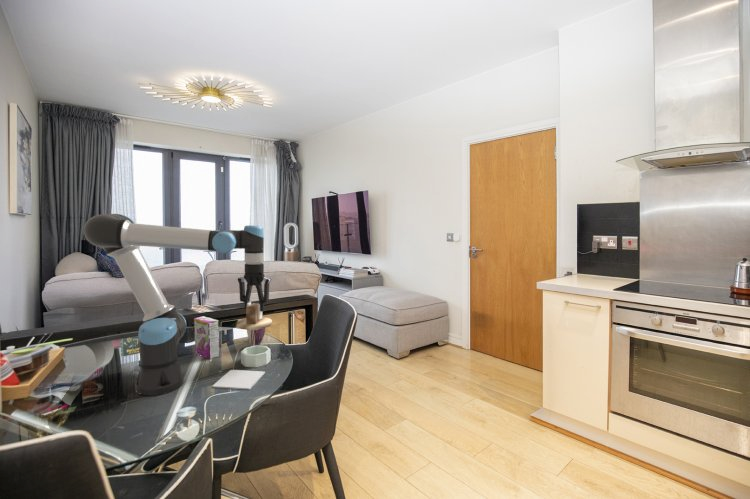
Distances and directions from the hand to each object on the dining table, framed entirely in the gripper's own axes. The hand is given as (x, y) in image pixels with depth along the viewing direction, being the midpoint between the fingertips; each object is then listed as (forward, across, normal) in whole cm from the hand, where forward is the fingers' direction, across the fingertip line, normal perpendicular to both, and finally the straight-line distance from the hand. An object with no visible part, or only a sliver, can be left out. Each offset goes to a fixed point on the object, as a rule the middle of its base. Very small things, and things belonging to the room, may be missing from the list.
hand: (254, 318), depth 152 cm
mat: (+19, -1, +17) cm, 25 cm away
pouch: (+19, +8, -19) cm, 28 cm away
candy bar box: (+19, +24, -4) cm, 31 cm away
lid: (+3, 0, 0) cm, 3 cm away
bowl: (+19, 0, 0) cm, 19 cm away
